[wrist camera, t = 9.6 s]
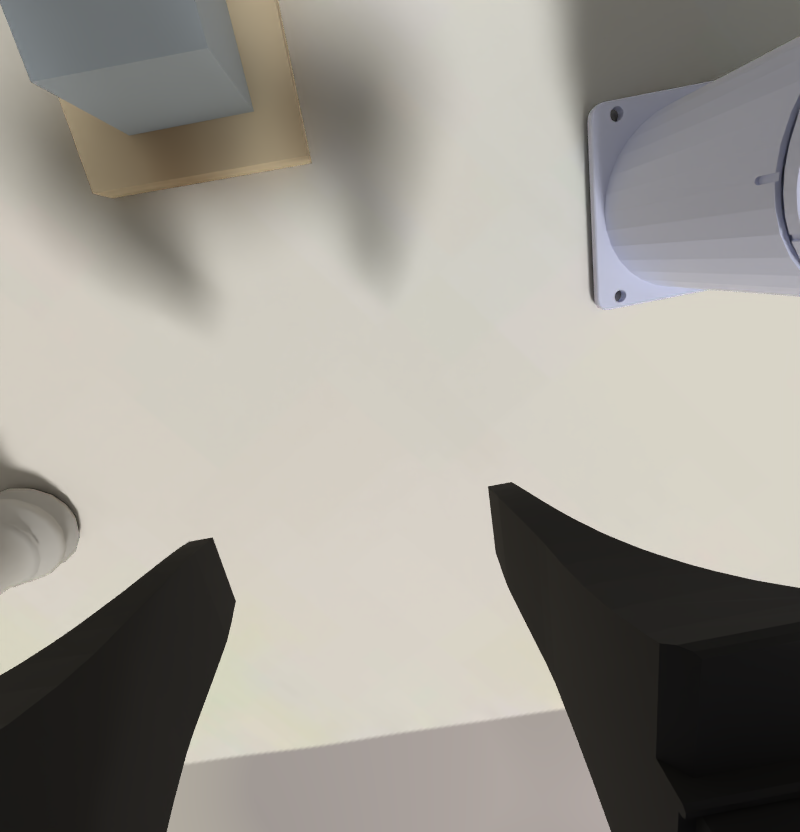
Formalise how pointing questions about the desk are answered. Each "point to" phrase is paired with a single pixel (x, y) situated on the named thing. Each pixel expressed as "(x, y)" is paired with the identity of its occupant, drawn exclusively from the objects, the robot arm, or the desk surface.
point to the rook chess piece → (33, 535)
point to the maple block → (207, 124)
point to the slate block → (133, 59)
